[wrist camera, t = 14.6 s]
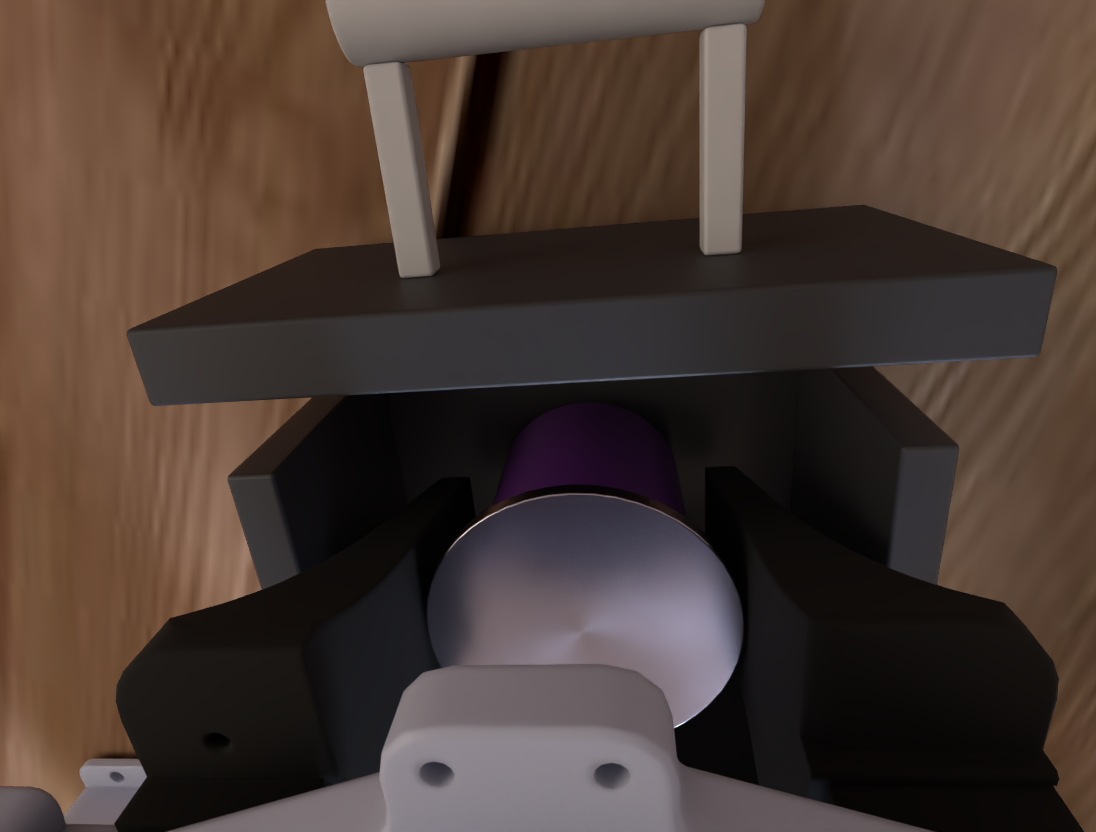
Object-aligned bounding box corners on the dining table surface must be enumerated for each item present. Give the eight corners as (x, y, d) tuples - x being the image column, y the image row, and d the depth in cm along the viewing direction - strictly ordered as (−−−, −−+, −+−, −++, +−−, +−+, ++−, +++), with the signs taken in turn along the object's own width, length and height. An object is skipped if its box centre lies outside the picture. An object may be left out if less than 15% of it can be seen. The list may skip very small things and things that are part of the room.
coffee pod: (465, 381, 15) (399, 499, 10) (704, 368, 14) (750, 487, 10) (493, 574, 17) (449, 746, 12) (703, 570, 16) (741, 748, 12)
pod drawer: (260, 12, 14) (-20, -77, 8) (890, -64, 13) (1167, -246, 6) (405, 662, 21) (318, 893, 14) (824, 657, 19) (927, 910, 13)
